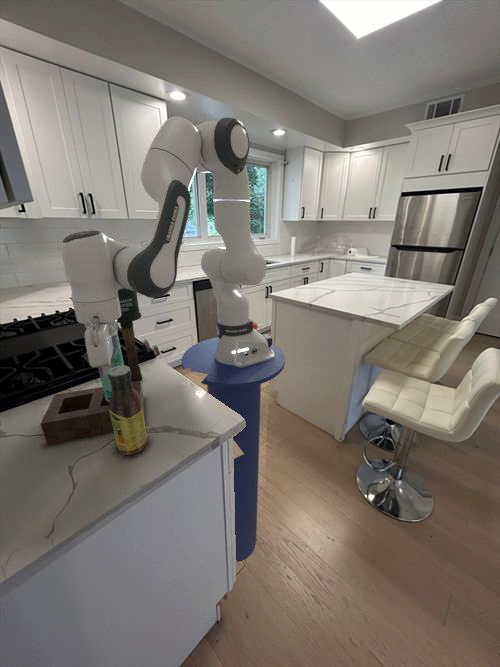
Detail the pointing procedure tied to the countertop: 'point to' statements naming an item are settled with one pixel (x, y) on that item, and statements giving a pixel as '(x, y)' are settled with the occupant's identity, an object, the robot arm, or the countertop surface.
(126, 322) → the potato masher grenade
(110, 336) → the robot arm
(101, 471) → the countertop surface
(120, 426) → the sauce bottle
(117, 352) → the spray can
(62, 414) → the holder
